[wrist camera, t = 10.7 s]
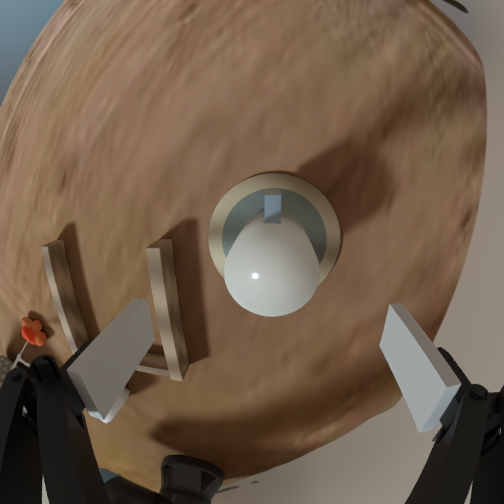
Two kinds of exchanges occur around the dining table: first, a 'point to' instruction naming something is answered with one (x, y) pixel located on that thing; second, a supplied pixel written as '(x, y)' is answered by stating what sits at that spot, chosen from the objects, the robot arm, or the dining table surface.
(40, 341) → the orange lump with branch
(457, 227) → the dining table surface
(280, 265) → the blue handled white cup
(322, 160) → the dining table surface
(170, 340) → the wooden u-shaped frame
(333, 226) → the coaster
